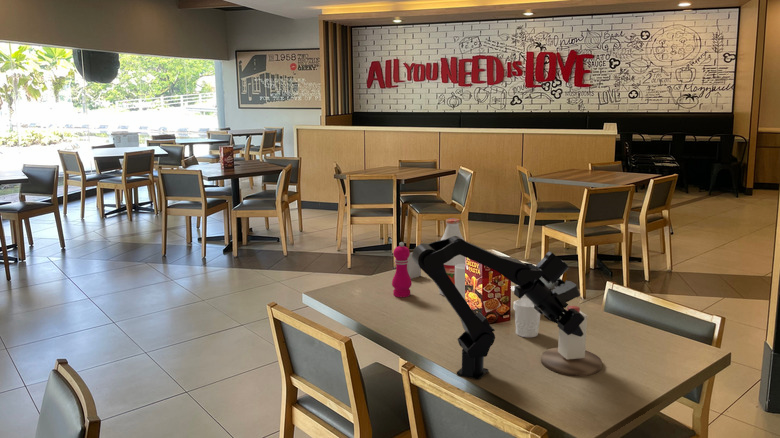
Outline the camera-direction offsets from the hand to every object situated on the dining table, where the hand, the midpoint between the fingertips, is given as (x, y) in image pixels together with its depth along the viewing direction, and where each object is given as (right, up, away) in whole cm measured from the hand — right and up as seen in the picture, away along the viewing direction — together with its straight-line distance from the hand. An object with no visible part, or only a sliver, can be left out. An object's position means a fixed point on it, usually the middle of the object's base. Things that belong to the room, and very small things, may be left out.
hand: (577, 331), depth 169 cm
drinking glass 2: (-25, 0, +46) cm, 53 cm away
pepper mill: (-46, +2, +61) cm, 77 cm away
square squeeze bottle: (-1, -7, +1) cm, 7 cm away
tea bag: (-42, +7, +84) cm, 94 cm away
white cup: (-9, -5, +23) cm, 25 cm away
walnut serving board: (-1, -9, +2) cm, 9 cm away
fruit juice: (-28, +3, +62) cm, 68 cm away
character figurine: (-5, -1, +45) cm, 45 cm away
